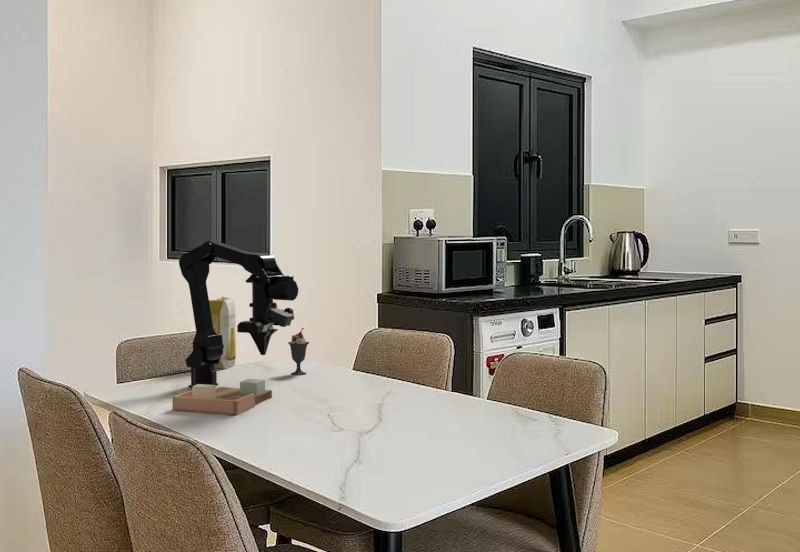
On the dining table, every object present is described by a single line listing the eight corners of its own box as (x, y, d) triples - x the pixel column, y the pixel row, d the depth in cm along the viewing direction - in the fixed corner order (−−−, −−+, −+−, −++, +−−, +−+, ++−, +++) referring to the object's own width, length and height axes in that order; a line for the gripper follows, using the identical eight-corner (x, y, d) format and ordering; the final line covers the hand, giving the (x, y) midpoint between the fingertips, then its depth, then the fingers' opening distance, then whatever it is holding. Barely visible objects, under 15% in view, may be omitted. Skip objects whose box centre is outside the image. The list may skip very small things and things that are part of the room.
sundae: (307, 375, 249) (307, 328, 249) (286, 375, 249) (286, 328, 249) (310, 372, 256) (310, 326, 255) (289, 371, 256) (289, 326, 255)
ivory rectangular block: (198, 402, 206) (192, 405, 203) (198, 384, 206) (192, 386, 203) (215, 404, 205) (210, 406, 202) (215, 385, 205) (209, 387, 202)
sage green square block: (239, 393, 212) (239, 382, 212) (248, 389, 217) (248, 378, 217) (256, 394, 211) (256, 383, 210) (265, 390, 215) (265, 379, 215)
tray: (172, 410, 200) (172, 396, 200) (193, 402, 209) (193, 389, 209) (236, 415, 195) (236, 401, 194) (254, 406, 204) (254, 393, 204)
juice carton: (226, 369, 260) (226, 297, 258) (204, 368, 261) (203, 296, 260) (238, 365, 269) (237, 295, 268) (216, 364, 270) (216, 294, 269)
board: (197, 402, 209) (196, 395, 209) (219, 393, 221) (219, 386, 220) (251, 406, 204) (251, 399, 204) (271, 397, 216) (271, 390, 216)
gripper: (273, 302, 208) (273, 361, 208) (303, 297, 225) (303, 351, 226) (235, 301, 211) (236, 359, 212) (268, 296, 229) (268, 349, 230)
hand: (263, 354), depth 220 cm, fingers closed
